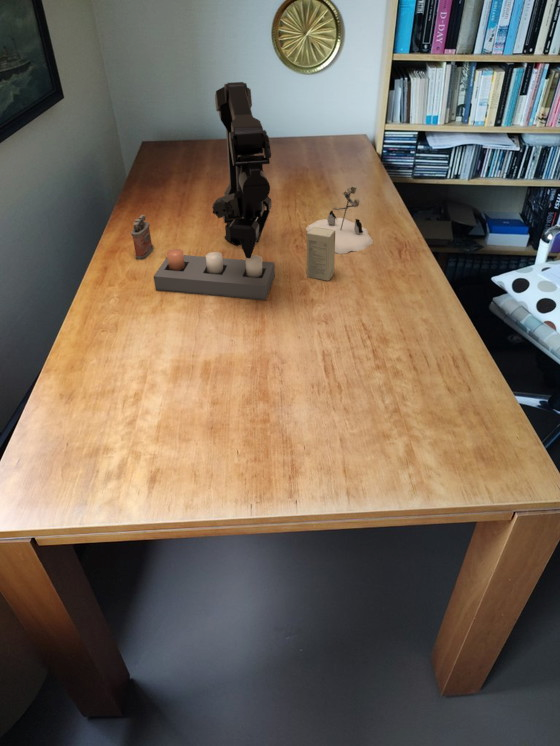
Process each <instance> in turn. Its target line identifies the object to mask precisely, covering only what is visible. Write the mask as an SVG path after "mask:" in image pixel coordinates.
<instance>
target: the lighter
mask: <svg viewBox="0 0 560 746" xmlns="http://www.w3.org/2000/svg"><path fill="white" fill-rule="evenodd" d="M146 220H147V219H146V215H145V214H140V215H139V217H138V218H135V219H134V222H133V224H132V226H133V229H132V230H131V232H130V234H131V237H132V241H133V246H134V250H135V251H134V253H135V259H136V260H137V261H142V260H145V259H147V257H149V255H150V254H151V253H152V252H153V251H154V245H153V242H152V237H151V230H150V222H148V221H146Z"/></svg>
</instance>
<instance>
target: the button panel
mask: <svg viewBox="0 0 560 746" xmlns="http://www.w3.org/2000/svg"><path fill="white" fill-rule="evenodd" d="M183 255H184V263H185V268H184V269H182V270H179V271H172V270H170V269H169V265H168V258H167V257H165V259H164V260H163V261H162V263H161V265H160V266H159V267H158V269H157V270H156V272H155V273H154V275H153V282H154V288H155V291H159V292H170V293H180V294H181V293H182V294H189V295H200V296H201V295H202V296H211V297H212V296H213V297H225V298H234V299H235V298H236V299H244V300H245V299H246V300H256V301H267V298H268V296H269V293H270V290H271V288H272V285H273V283H274V280H275V275H276V274H275V273H276V270H275V269H276V264H275V262H274V261H263V260H262V275H261V276H260V277H256V278H253V277H249V276H247V275H246V259H237V258H227V257H222V260H223V272H221V273H219V274H210V273H208V272H207V263H206V256H201V255H190V254H189V255H188V254H183Z"/></svg>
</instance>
